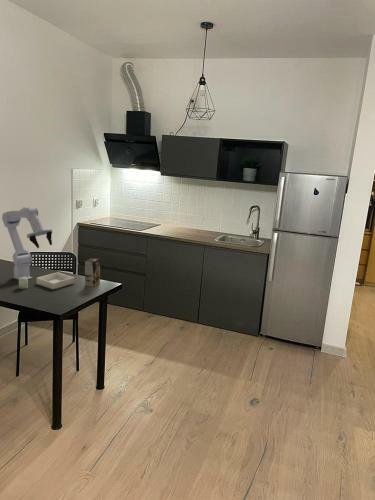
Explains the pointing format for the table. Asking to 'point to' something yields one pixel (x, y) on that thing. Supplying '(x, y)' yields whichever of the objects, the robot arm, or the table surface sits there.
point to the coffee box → (92, 272)
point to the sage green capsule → (23, 282)
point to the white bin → (55, 280)
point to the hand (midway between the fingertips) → (44, 246)
